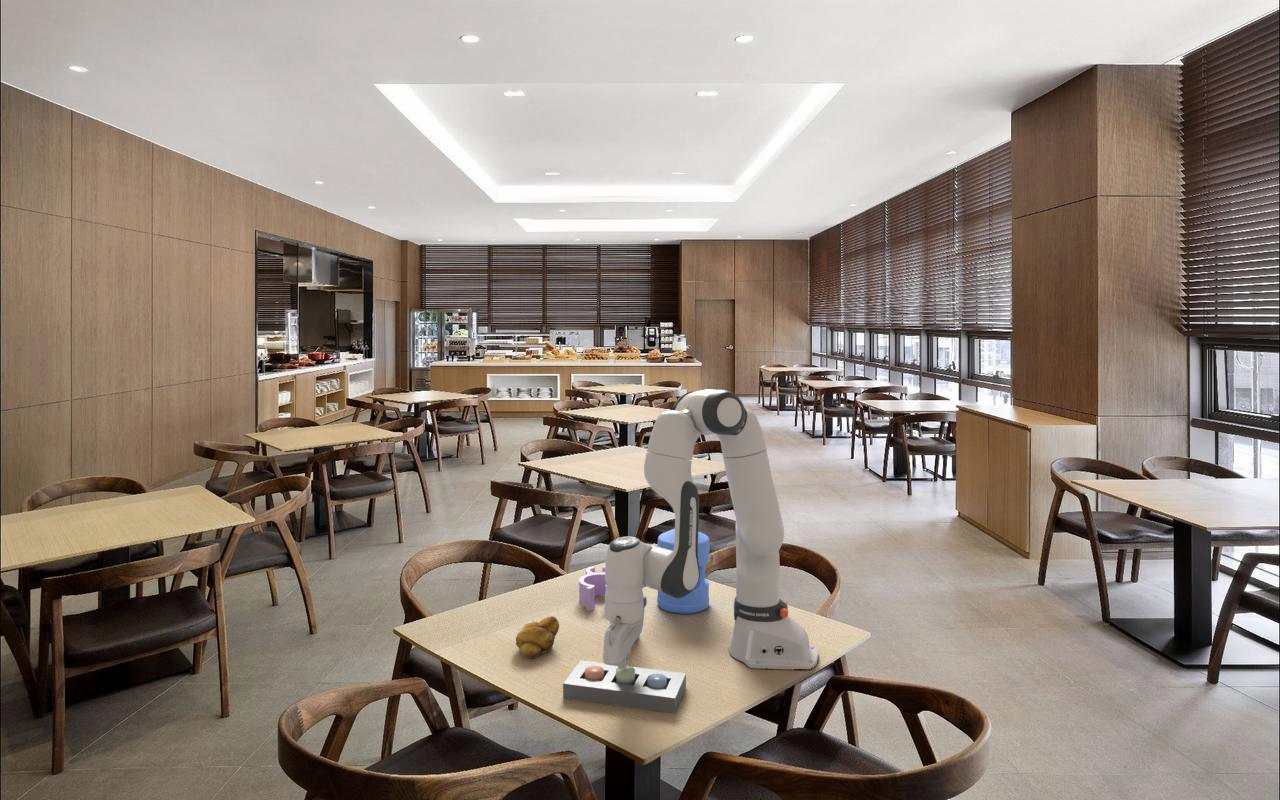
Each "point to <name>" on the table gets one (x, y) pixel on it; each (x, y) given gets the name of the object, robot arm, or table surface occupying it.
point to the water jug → (700, 594)
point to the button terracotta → (594, 673)
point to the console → (625, 688)
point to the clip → (591, 587)
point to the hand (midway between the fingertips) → (623, 666)
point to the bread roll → (537, 637)
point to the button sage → (625, 675)
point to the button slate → (657, 681)
